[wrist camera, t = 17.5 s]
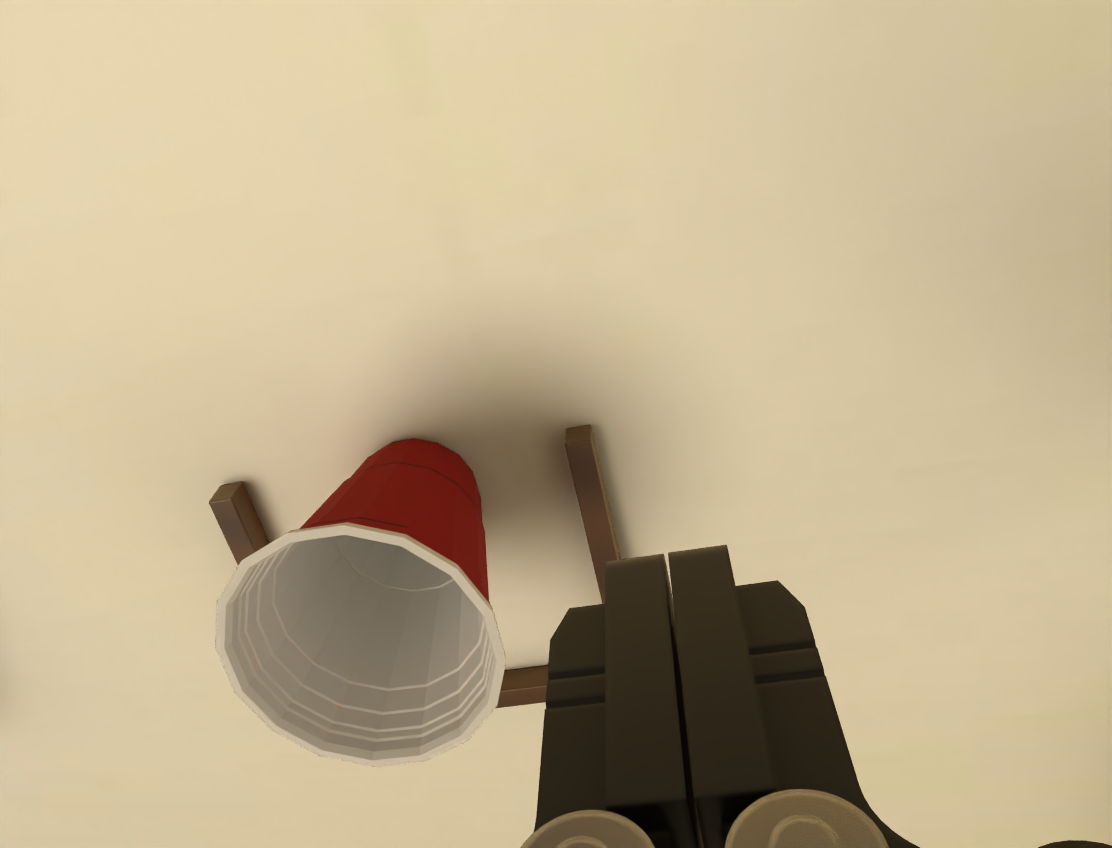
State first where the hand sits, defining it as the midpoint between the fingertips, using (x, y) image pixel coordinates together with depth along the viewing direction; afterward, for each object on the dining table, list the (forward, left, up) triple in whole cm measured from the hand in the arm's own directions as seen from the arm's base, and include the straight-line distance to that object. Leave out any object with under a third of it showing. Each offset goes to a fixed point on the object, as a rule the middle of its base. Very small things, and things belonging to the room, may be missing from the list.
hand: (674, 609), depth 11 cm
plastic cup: (+18, 0, -27) cm, 33 cm away
